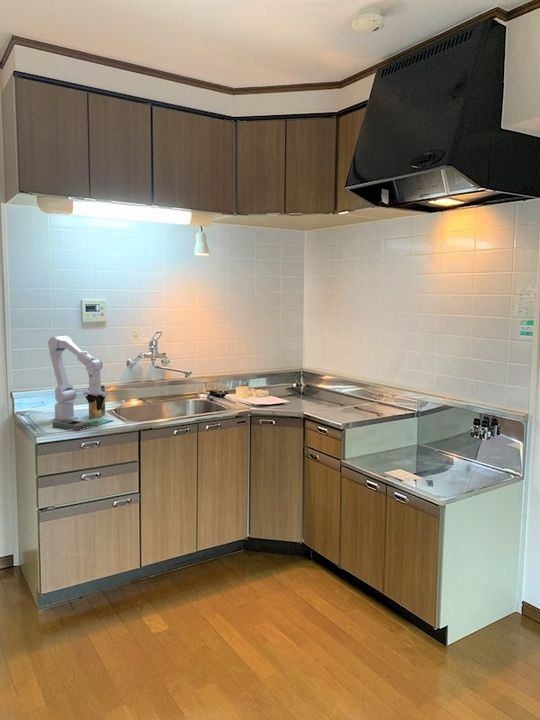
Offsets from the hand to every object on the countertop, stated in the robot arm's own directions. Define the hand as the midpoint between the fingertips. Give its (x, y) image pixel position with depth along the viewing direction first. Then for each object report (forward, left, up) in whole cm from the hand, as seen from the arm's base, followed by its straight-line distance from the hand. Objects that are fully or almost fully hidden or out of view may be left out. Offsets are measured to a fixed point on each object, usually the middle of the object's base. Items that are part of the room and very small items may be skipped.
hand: (95, 409), depth 282 cm
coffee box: (-11, +12, -7) cm, 18 cm away
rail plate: (-4, -13, -7) cm, 15 cm away
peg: (0, 0, -3) cm, 4 cm away
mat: (0, 0, -7) cm, 7 cm away
